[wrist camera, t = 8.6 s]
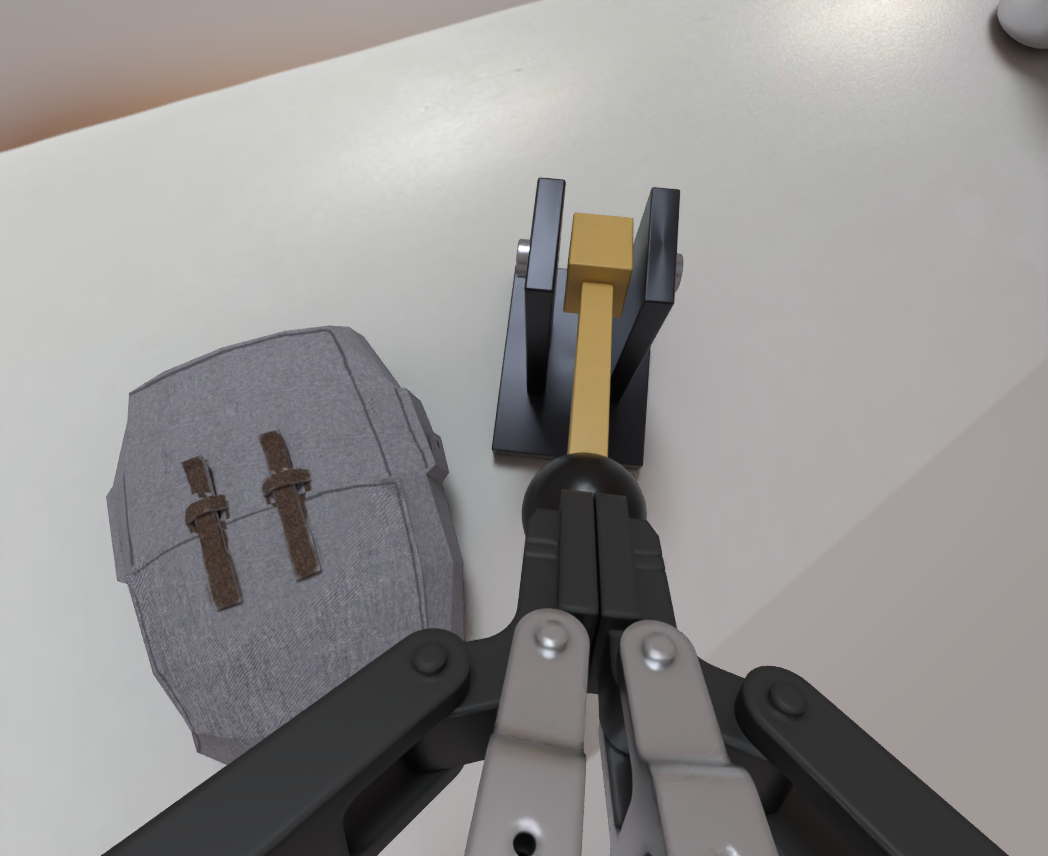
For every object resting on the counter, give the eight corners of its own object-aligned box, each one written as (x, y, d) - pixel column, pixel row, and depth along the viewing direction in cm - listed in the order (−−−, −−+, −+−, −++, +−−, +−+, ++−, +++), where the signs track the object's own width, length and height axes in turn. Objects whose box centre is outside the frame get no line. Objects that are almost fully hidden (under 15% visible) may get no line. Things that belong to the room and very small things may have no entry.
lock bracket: (638, 470, 29) (717, 404, 17) (493, 453, 30) (465, 378, 17) (650, 287, 32) (726, 113, 20) (516, 274, 32) (506, 95, 20)
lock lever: (632, 599, 15) (661, 561, 12) (514, 585, 15) (515, 544, 13) (634, 279, 22) (653, 206, 19) (552, 271, 22) (558, 198, 20)
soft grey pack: (155, 424, 30) (235, 804, 26) (18, 374, 22) (99, 916, 18) (411, 336, 31) (530, 686, 27) (369, 258, 23) (530, 742, 19)
